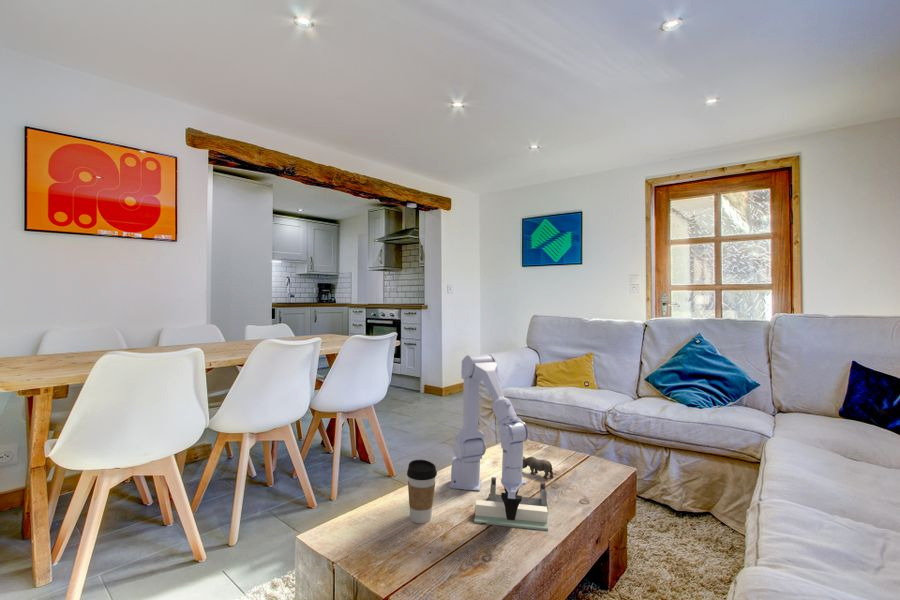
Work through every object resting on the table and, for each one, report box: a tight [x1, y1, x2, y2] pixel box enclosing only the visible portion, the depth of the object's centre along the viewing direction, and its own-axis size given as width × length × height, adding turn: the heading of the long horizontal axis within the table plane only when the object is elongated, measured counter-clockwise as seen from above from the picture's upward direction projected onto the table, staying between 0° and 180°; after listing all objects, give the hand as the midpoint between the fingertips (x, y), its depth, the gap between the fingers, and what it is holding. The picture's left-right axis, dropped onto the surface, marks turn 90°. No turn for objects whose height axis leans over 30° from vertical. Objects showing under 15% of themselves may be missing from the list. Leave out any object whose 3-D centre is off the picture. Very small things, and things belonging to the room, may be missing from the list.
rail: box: [474, 499, 549, 524], centre depth 122 cm, size 20×3×3 cm, turn 82°
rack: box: [487, 476, 549, 511], centre depth 130 cm, size 18×7×6 cm, turn 82°
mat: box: [473, 514, 549, 532], centre depth 122 cm, size 20×9×1 cm, turn 82°
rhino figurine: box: [522, 456, 554, 480], centre depth 154 cm, size 4×14×6 cm, turn 58°
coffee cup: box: [406, 459, 438, 524], centre depth 120 cm, size 8×8×15 cm
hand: (510, 512), depth 122 cm, fingers open, 7 cm apart
